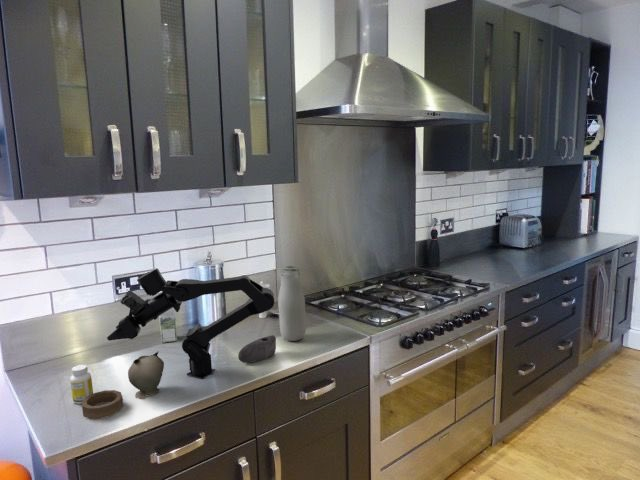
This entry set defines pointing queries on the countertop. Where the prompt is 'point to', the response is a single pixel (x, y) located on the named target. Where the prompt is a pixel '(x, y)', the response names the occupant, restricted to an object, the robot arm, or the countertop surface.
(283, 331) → the grey bottle vase
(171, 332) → the syrup box
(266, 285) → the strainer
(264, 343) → the perforated stone tool
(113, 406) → the walnut ring socket
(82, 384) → the supplement bottle
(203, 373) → the robot arm
